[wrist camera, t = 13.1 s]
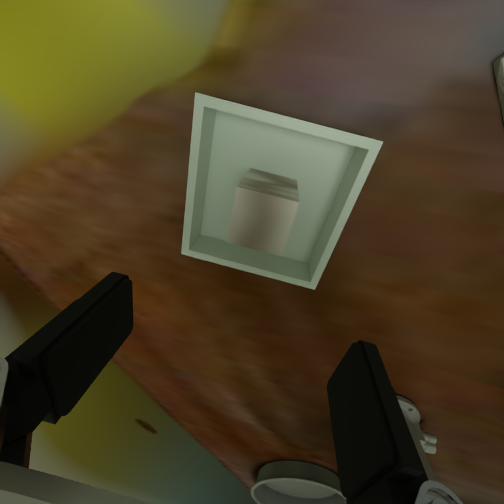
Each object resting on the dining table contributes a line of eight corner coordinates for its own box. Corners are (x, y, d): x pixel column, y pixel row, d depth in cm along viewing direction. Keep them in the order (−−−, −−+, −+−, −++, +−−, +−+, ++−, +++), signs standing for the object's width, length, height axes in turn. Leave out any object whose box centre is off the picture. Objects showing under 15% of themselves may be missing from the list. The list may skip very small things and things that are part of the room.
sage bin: (366, 137, 24) (383, 141, 19) (311, 266, 31) (314, 289, 27) (212, 97, 24) (195, 92, 19) (196, 235, 31) (181, 253, 27)
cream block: (296, 179, 25) (299, 202, 18) (283, 222, 28) (281, 256, 21) (250, 168, 25) (236, 186, 18) (242, 211, 28) (226, 242, 21)
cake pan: (362, 497, 63) (366, 522, 59) (278, 499, 72) (277, 521, 68) (327, 451, 54) (329, 477, 50) (236, 460, 63) (232, 482, 59)
